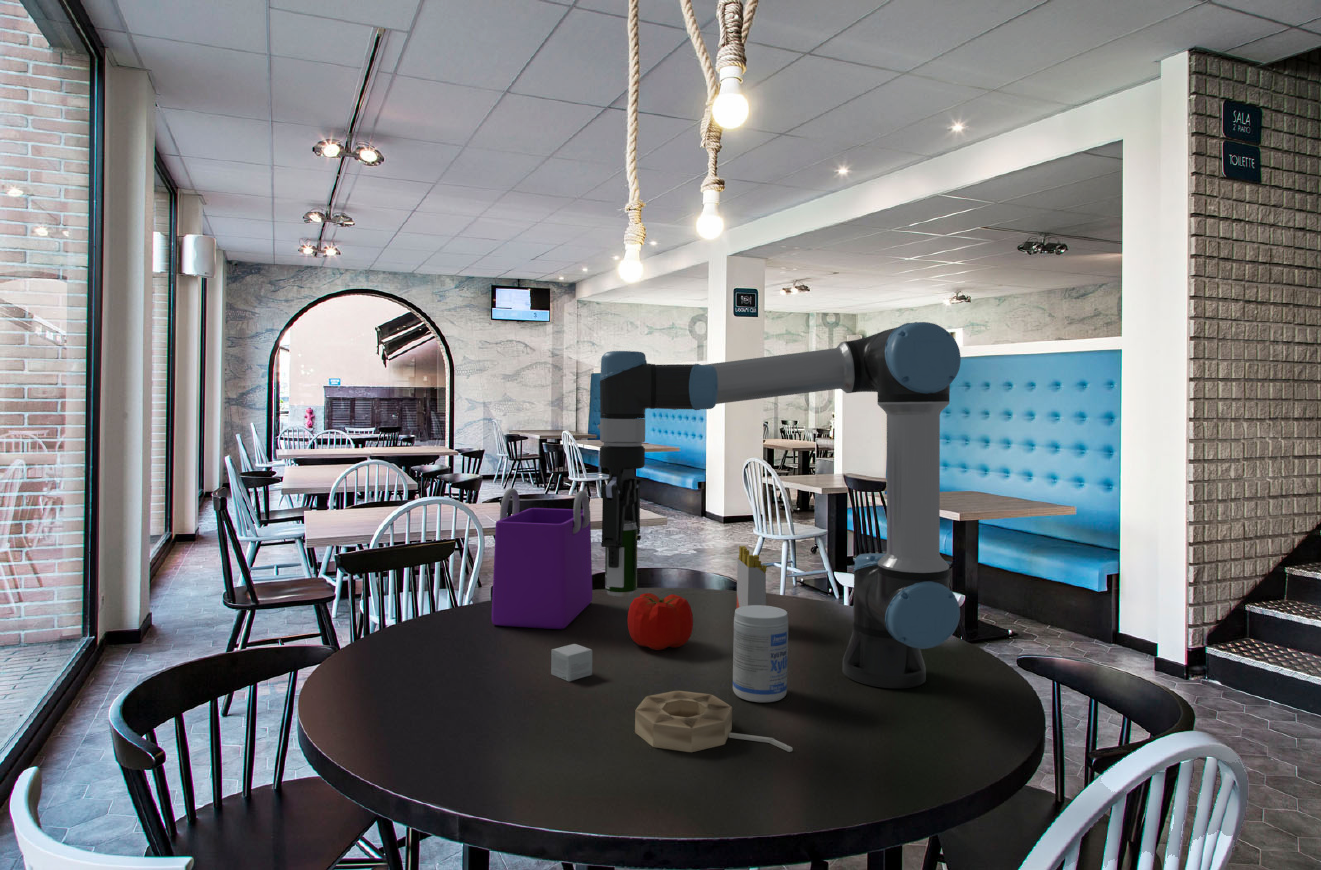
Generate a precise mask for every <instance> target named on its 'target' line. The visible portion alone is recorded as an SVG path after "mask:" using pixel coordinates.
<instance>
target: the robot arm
mask: <svg viewBox="0 0 1321 870" xmlns="http://www.w3.org/2000/svg"><path fill="white" fill-rule="evenodd" d="M961 356H962V355H961V351H960V348H959V345H958V343H957V340H955V338H954V336H953V334H951V333H950V332H949V331H948V330H946V329H945V328H944V327H942V326H941V325H938V324H936V323H932V322H928V321H927V322H926V321H913V322H906V323H903V324H901V325H899V326H898V327H892V328H889V329H885V330H883V331H881V332H878V333H875V334H871V335H869V336H866V337H862V338H858V339H854V340H847V341H840V342H839V344H838V345H837V346H836V347H834V348H826V349H818V350H810V351H803V352H796V353H786V354H785V353H784V354H779V355H771V356H761V357H754V358H746V359H738V360H730V361H721V362H715V363H707V364H706V363H705V364H700V363H693V364H689V363H688V364H682V363H681V364H675V363H673V364H671V363H670V364H656V363H648V362H647V358H646V354H645V353H644V352H642V351H637V350H636V351H633V350H632V351H631V350H613V351H612V350H611V351H607V352H604V354H603V355H602V356H601V358H600V359H601V361H600V362H601V363H600V374H599V375H600V377H599V388H600V389H599V402H600V403H599V413H600V415H599V417H600V418H599V419H600V420H599V422H600V423H598V425H597V429H598V430H599V432H600V433H599V438H600V442H601V443H603V445H600V447H599V466H600V467H601V468H602V469H608V470H609V472H608V473H609V474H608V479H607V484H605V483H604V484H601V487H600V488H601V497H602V498H601V499H602V502H601V503H602V513H601V514H602V515H601V516H602V517H601V543H600V546H601V547H602V548H605V547H607V586H608V587H621V588H623V587H624V547H622V539H623V528H624V520H632V521H636V526H637V541H641V539H642V536H641V535H640V534H641V512H640V511H641V502H640V501H641V484H642V480H641V478H638V477H636V471H635V470H637V469H643V468H644V467H645V465H646V461H645V460H646V459H645V458H646V452H645V451H646V450H645V449H646V448H645V447H644V445H642V443H644V442H646V410H647V409H650V410H655V409H656V410H657V409H658V410H674V411H675V410H694V411H701V410H711V409H714V408H715V407H716V405H719V404H728V403H735V402H743V401H751V400H758V399H760V400H761V399H768V398H777V397H785V396H792V395H799V394H800V395H801V394H809V393H816V392H824V391H826V392H827V391H833V390H835V391H836V390H842V391H843V392H844V393H845V394H852V393H854V394H855V393H866V392H867V393H868V392H869V393H872V392H873V393H877V405H878V406H879V407H880V408H881V409H882V410H883V411H884V412H885V414H886V553H877V552H876V553H875V552H874V553H861V554H858V555H857V556H856V557H855V560H854V568H853V570H852V572H853V606H852V607H853V610H852V611H853V613H852V620H853V621H852V633H851V636H850V639H849V641H848V644H847V646H846V649H845V652H844V655H843V656H842V657H843V658H842V674H843V675H844V676H846V677H847V678H849V679H850V680H852V681H854V682H857V683H860V684H863V685H866V686H871V687H878V688H883V689H909V688H916V687H918V686H921V685H923V684H924V683H925V682H926V676H927V674H926V672H927V671H926V670H927V669H926V664H925V660H924V657H923V655H922V650H926V649H932V648H936V647H937V646H941V644H944V643H945V642H946V641H947V640H948V639H949V638H950V637H951V636H953V634H954V633H955V631H956V630H957V627H958V626H959V622H960V617H961V616H960V615H961V608H960V605H959V601H958V599H957V597H956V595H955V594H954V592H953V591H952V590H951V589H950V565H949V563H948V562H947V561H946V560H945V559H944V558H943V557H942V555H941V554H940V544H941V543H940V535H941V533H940V531H941V529H940V524H941V523H940V519H941V517H940V516H941V515H940V514H941V512H940V511H941V510H940V509H941V508H940V507H941V505H940V504H941V503H940V502H941V501H940V497H941V496H940V495H941V494H940V493H941V491H940V489H941V488H940V487H941V486H940V485H941V484H940V479H941V478H940V477H941V476H940V472H941V471H940V469H941V468H940V467H941V466H940V463H941V455H940V448H941V447H940V445H941V443H940V442H941V440H940V437H941V433H940V432H941V431H940V430H941V427H940V425H941V413H942V412H943V411H944V409H946V408H947V407H948V406H949V405H950V393H951V391H950V388H951V387H950V385H951V383H953V381H955V379H956V378H957V375H958V373H959V370H960V368H961V361H962V360H961V359H962V358H961Z"/></svg>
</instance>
